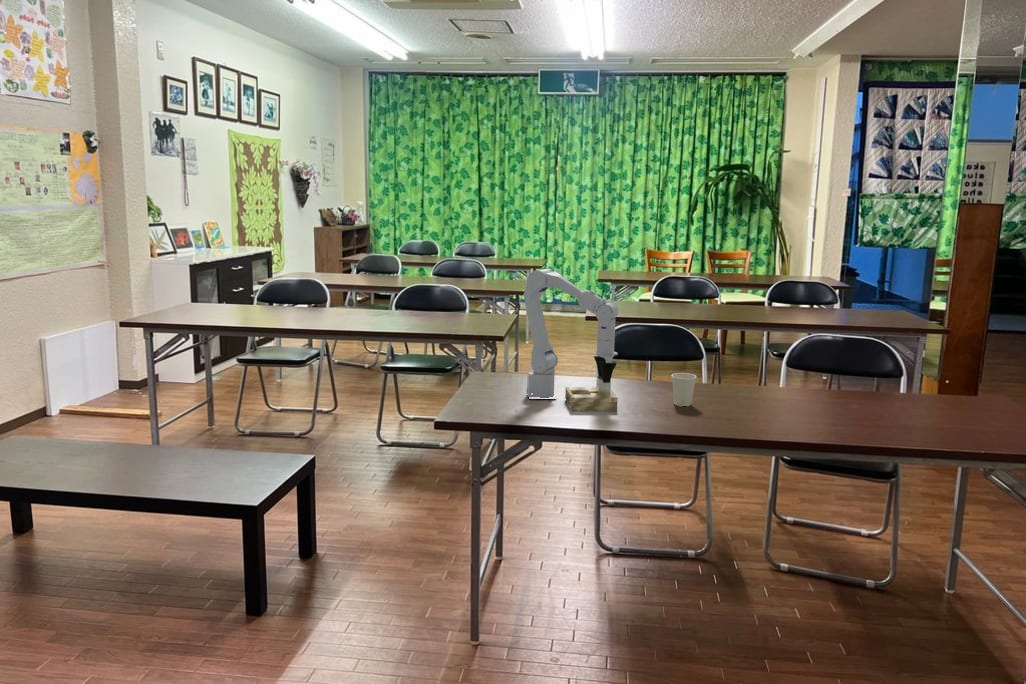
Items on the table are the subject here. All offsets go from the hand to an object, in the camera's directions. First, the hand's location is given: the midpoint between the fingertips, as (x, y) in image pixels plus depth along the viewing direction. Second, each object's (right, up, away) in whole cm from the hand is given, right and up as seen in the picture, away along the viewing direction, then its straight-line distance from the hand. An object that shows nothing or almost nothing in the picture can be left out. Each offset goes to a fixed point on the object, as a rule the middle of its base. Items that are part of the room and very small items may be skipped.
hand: (604, 379), depth 257 cm
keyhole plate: (-4, -9, +1) cm, 10 cm away
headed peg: (0, -8, +1) cm, 8 cm away
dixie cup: (+27, -9, +5) cm, 29 cm away
